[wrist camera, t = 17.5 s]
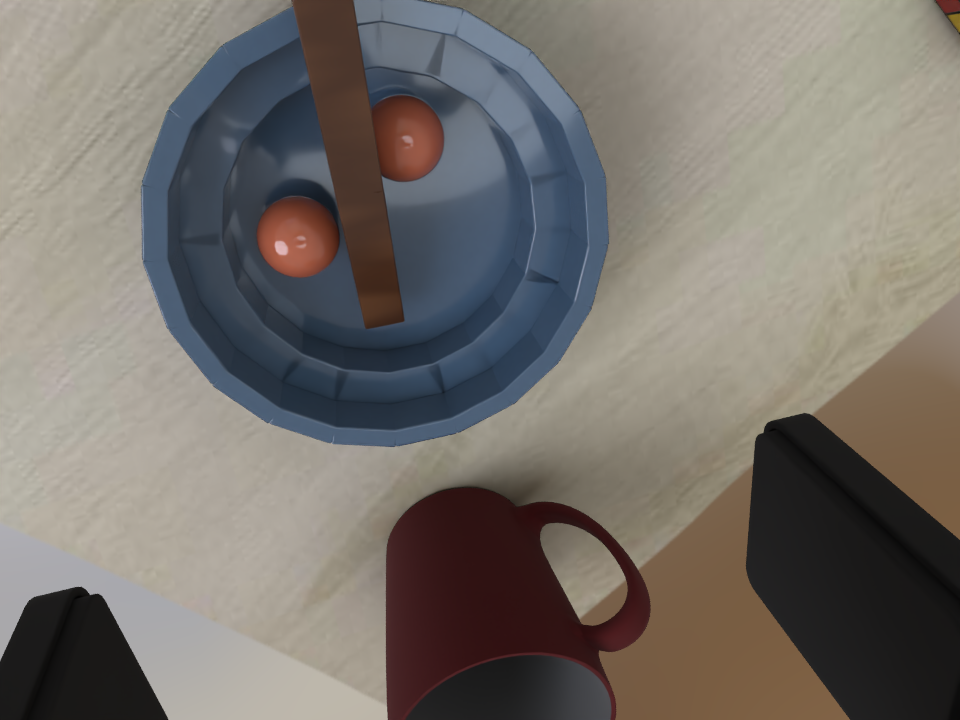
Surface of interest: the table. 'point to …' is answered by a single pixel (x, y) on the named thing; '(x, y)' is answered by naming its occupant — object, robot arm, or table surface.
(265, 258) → the bead
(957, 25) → the rubik's cube
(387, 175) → the bead
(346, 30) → the stick
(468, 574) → the mug
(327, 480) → the table surface
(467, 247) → the bowl
